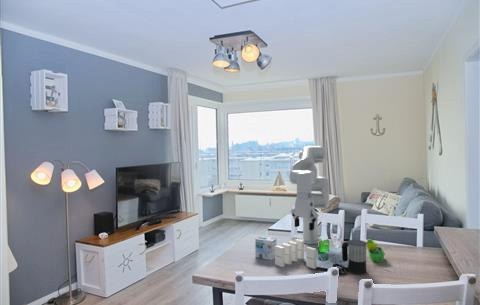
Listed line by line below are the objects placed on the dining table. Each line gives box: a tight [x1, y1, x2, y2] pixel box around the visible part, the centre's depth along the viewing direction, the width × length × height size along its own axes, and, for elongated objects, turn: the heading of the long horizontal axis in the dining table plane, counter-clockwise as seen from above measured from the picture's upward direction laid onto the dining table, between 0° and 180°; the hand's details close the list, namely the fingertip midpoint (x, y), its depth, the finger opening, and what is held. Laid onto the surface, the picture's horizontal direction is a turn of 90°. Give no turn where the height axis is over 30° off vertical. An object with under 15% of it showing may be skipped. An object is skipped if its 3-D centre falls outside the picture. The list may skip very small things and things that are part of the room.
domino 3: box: [287, 240, 299, 263], centre depth 185 cm, size 2×5×10 cm, turn 42°
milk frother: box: [332, 239, 368, 275], centre depth 168 cm, size 14×16×15 cm
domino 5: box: [305, 246, 318, 270], centre depth 175 cm, size 2×5×10 cm, turn 42°
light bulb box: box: [254, 235, 277, 261], centre depth 191 cm, size 11×7×11 cm, turn 62°
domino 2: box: [281, 242, 292, 265], centre depth 182 cm, size 2×5×10 cm, turn 42°
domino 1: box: [274, 244, 286, 268], centre depth 178 cm, size 2×5×10 cm, turn 42°
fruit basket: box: [365, 238, 386, 263], centre depth 186 cm, size 11×9×11 cm
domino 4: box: [294, 238, 305, 260], centre depth 189 cm, size 2×5×10 cm, turn 42°
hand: (304, 228), depth 176 cm, fingers open, 9 cm apart
